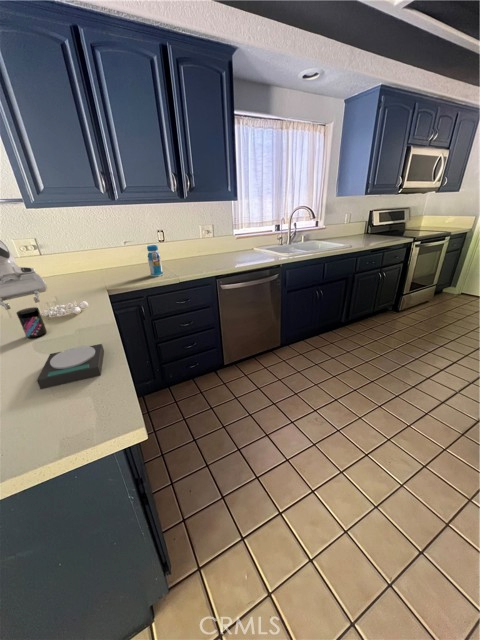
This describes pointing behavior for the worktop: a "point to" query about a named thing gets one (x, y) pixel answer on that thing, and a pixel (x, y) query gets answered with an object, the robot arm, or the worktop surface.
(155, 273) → the beverage bottle
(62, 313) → the white bead necklace
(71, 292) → the worktop surface
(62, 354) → the scale
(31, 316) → the supplement container
